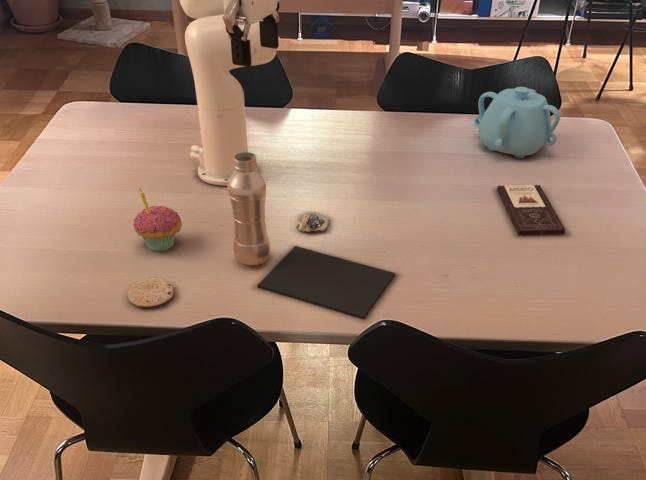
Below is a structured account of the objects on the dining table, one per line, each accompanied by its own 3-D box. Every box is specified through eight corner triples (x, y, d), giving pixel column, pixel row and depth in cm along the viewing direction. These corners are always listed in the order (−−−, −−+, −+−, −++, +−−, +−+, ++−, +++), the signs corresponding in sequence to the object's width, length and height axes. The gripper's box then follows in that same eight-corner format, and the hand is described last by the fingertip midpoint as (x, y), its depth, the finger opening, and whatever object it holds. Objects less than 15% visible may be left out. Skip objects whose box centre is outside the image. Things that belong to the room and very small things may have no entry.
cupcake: (144, 261, 130) (133, 201, 122) (131, 238, 135) (120, 180, 127) (190, 249, 133) (182, 190, 125) (175, 228, 138) (167, 170, 130)
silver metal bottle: (265, 272, 128) (259, 167, 114) (229, 267, 129) (218, 163, 115) (275, 252, 132) (270, 150, 119) (240, 248, 133) (231, 146, 120)
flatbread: (174, 306, 119) (173, 301, 119) (128, 311, 118) (126, 306, 118) (172, 278, 125) (171, 273, 125) (128, 283, 124) (127, 278, 124)
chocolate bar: (519, 230, 137) (497, 185, 151) (518, 235, 138) (497, 189, 151) (565, 229, 138) (539, 185, 151) (564, 234, 138) (538, 189, 152)
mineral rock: (298, 236, 137) (297, 227, 135) (291, 215, 143) (291, 206, 141) (332, 233, 138) (333, 224, 136) (325, 212, 144) (325, 204, 142)
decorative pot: (486, 164, 161) (496, 104, 152) (468, 133, 173) (476, 76, 164) (556, 161, 162) (570, 102, 153) (534, 131, 174) (546, 74, 165)
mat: (257, 287, 124) (257, 285, 124) (295, 247, 134) (295, 245, 133) (363, 319, 118) (363, 316, 118) (395, 275, 127) (395, 272, 127)
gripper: (253, -75, 114) (260, 38, 125) (197, -54, 102) (209, 69, 113) (296, -71, 112) (299, 43, 123) (243, -49, 100) (252, 76, 111)
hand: (256, 55), depth 118 cm, fingers open, 9 cm apart
